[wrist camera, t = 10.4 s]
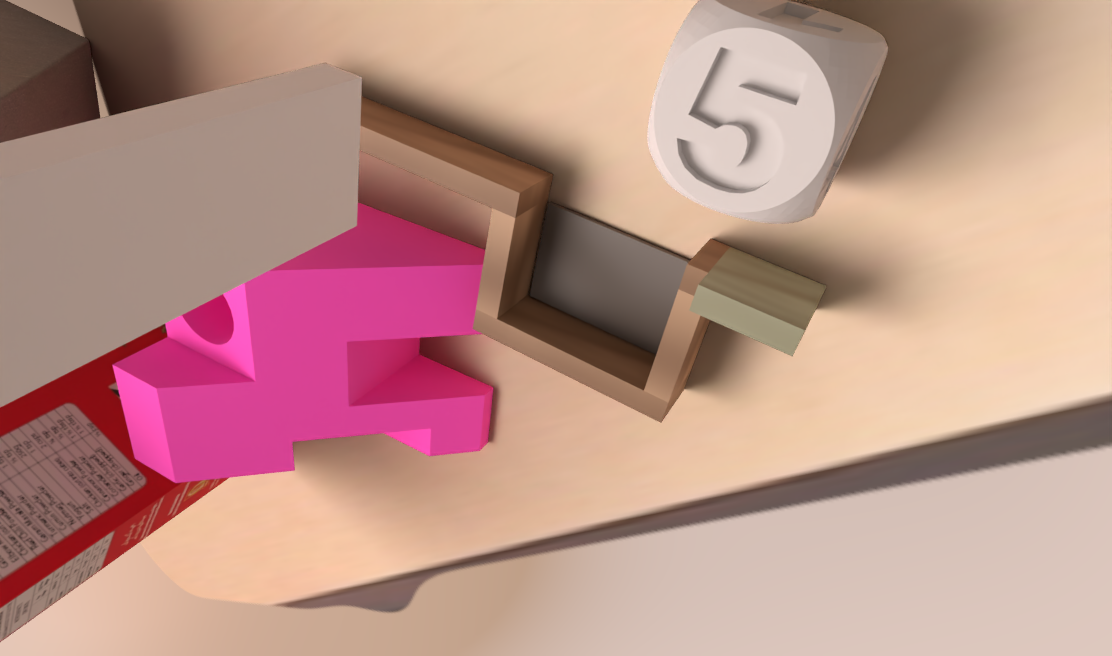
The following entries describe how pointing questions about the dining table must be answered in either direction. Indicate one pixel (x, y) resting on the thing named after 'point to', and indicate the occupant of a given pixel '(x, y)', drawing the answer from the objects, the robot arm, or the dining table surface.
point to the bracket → (314, 358)
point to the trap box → (593, 275)
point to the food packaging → (75, 487)
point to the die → (761, 105)
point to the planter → (42, 75)
